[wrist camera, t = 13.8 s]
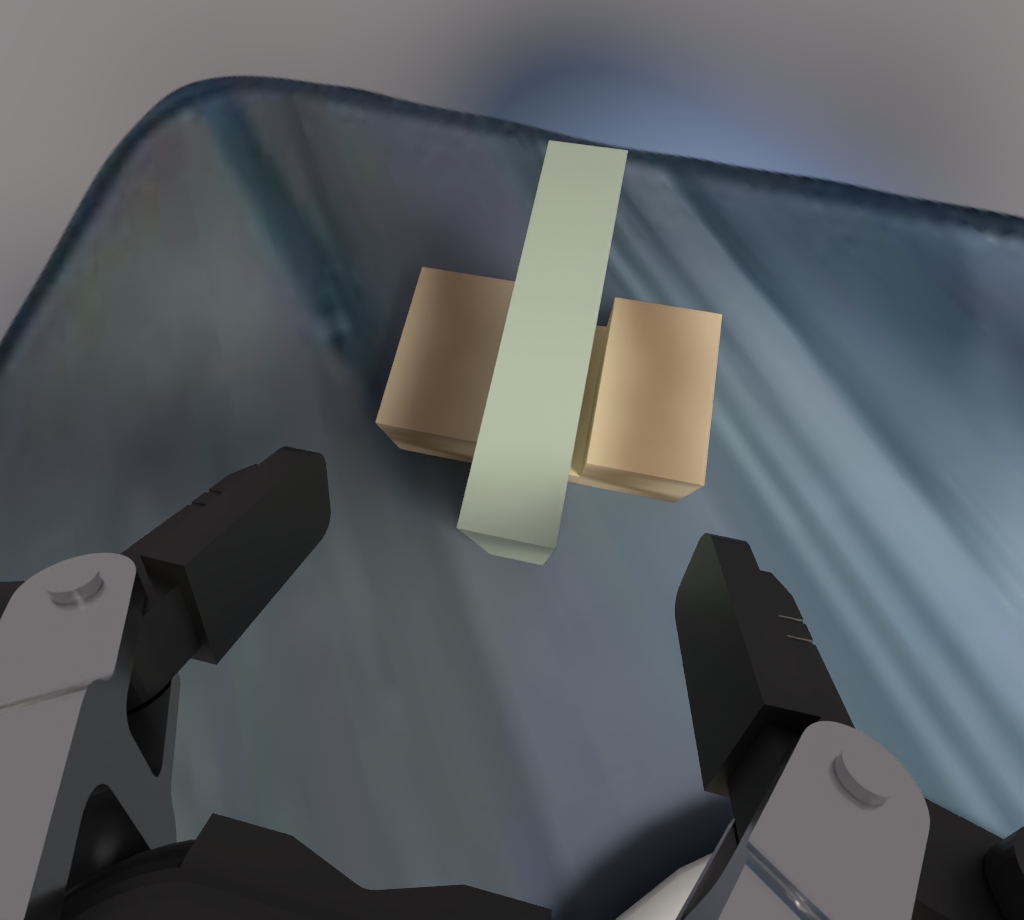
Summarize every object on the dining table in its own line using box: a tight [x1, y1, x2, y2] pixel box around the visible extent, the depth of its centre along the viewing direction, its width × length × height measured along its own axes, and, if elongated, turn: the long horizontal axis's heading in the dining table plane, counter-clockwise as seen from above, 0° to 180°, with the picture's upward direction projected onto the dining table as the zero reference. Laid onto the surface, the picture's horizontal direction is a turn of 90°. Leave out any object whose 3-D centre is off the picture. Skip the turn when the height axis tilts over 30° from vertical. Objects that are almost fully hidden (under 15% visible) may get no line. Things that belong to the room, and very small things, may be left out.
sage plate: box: [457, 140, 628, 565], centre depth 17 cm, size 2×12×10 cm, turn 168°
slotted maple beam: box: [375, 267, 722, 502], centre depth 22 cm, size 14×8×4 cm, turn 78°
